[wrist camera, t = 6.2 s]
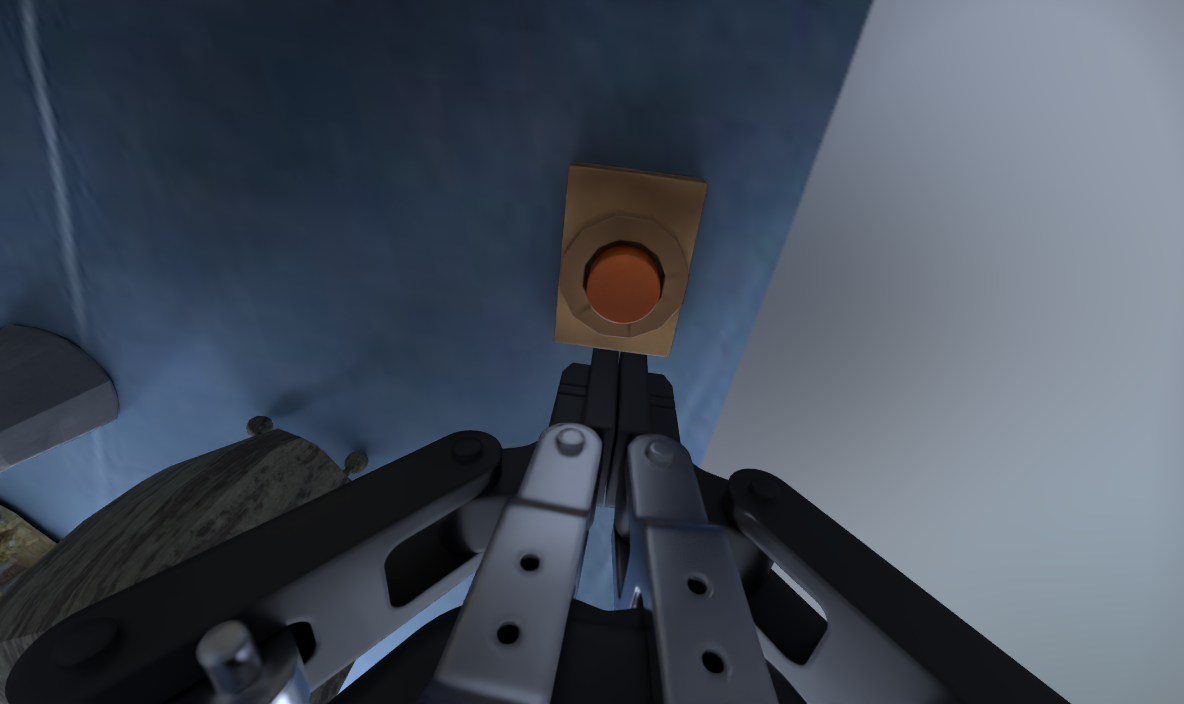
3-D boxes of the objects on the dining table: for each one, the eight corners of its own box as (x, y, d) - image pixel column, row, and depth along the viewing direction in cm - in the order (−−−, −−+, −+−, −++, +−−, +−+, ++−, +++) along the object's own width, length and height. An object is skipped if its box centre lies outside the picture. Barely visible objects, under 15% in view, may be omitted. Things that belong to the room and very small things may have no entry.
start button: (593, 240, 23) (590, 249, 22) (664, 249, 23) (666, 260, 22) (585, 305, 25) (582, 319, 24) (651, 315, 25) (653, 328, 24)
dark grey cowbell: (232, 406, 34) (-483, 957, 12) (329, 368, 32) (-326, 956, 10) (351, 536, 40) (16, 1063, 18) (439, 512, 38) (182, 1076, 16)
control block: (572, 160, 25) (564, 169, 22) (703, 178, 25) (714, 189, 21) (557, 329, 29) (549, 356, 26) (667, 344, 29) (671, 373, 26)
